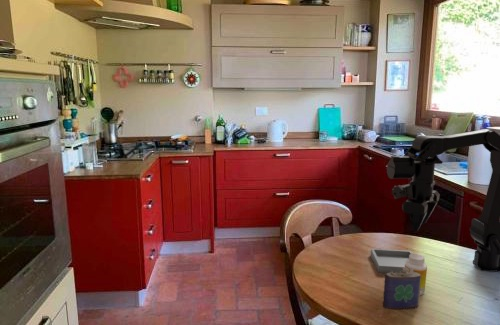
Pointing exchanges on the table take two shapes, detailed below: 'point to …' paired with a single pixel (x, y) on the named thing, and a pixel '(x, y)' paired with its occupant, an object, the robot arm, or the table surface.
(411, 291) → the blue hip flask
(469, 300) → the table surface
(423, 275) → the supplement bottle
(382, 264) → the tray
